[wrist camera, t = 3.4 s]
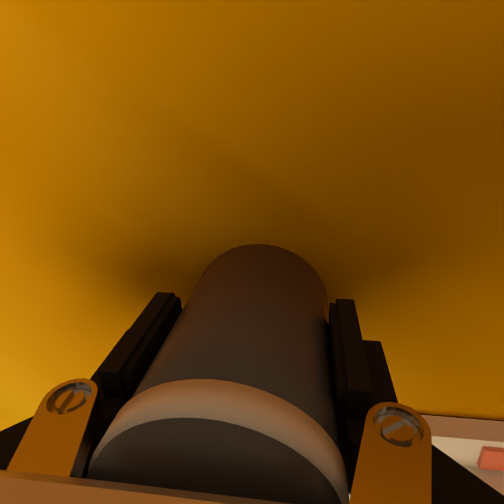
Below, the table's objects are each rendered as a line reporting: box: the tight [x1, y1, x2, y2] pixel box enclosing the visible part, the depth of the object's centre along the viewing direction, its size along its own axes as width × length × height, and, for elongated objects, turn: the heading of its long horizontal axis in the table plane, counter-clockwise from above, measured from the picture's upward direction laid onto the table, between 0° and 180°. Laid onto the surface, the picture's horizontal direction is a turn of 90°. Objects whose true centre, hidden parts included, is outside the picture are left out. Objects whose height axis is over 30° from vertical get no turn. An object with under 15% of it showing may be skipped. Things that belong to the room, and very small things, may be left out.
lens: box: [85, 244, 349, 504], centre depth 10 cm, size 5×5×8 cm
